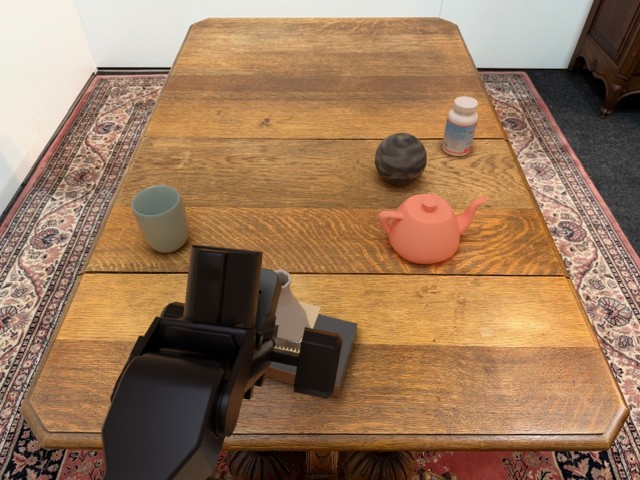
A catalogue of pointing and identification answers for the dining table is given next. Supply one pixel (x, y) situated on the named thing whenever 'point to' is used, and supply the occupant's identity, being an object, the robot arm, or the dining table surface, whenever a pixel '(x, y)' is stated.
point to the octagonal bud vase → (289, 311)
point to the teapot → (427, 228)
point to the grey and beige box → (326, 324)
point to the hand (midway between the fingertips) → (267, 334)
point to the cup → (161, 217)
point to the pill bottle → (460, 126)
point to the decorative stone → (400, 158)
